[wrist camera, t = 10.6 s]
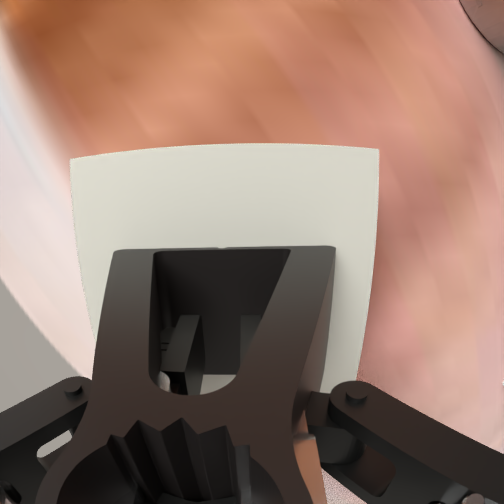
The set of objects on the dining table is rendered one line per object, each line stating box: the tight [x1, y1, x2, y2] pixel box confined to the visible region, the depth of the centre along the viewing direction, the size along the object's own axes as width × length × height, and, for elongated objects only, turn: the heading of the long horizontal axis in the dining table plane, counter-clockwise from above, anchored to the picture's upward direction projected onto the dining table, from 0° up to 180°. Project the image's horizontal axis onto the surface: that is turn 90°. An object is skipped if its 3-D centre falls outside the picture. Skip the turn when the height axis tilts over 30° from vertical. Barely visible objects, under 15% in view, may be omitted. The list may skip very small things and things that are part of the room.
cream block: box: [70, 143, 379, 395], centre depth 15 cm, size 13×14×5 cm
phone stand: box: [35, 245, 336, 504], centre depth 7 cm, size 9×6×12 cm, turn 90°
